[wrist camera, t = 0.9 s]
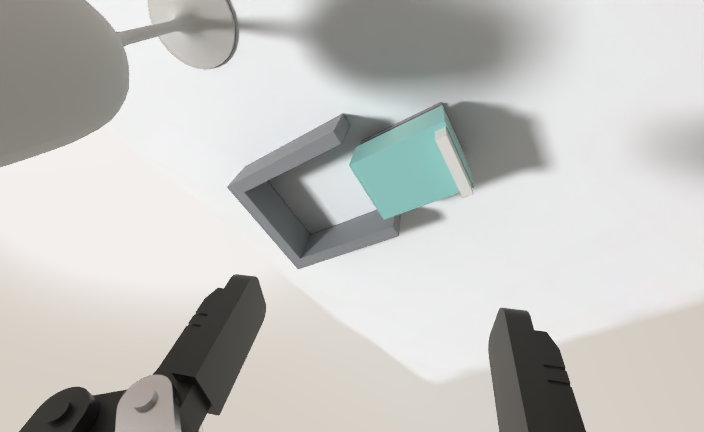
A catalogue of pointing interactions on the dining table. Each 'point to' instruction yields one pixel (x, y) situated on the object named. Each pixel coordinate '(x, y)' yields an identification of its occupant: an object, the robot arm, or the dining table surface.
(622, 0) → the dining table surface
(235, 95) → the dining table surface
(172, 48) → the wineglass
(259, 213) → the bay
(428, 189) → the teal box with handle
